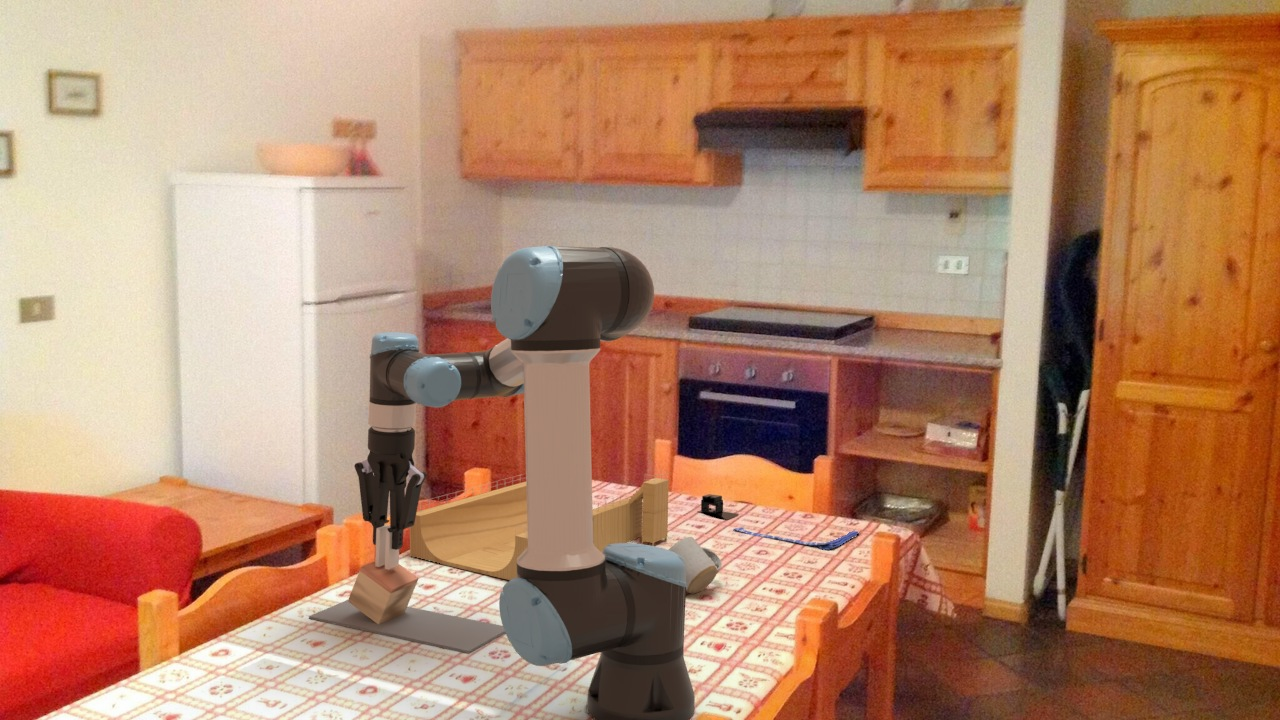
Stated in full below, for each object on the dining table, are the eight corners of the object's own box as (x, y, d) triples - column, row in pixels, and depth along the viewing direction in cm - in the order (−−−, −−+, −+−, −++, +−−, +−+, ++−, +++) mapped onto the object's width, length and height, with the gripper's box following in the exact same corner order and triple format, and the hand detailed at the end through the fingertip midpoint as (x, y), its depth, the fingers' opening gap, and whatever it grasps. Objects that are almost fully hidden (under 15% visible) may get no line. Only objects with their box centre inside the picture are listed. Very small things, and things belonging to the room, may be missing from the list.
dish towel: (830, 558, 235) (830, 544, 235) (730, 538, 249) (730, 525, 248) (863, 540, 249) (864, 528, 249) (767, 522, 263) (768, 510, 262)
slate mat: (469, 653, 176) (469, 650, 176) (309, 618, 190) (308, 616, 190) (510, 629, 187) (510, 627, 187) (356, 598, 201) (356, 596, 201)
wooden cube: (378, 624, 187) (392, 589, 185) (347, 601, 190) (361, 566, 188) (404, 612, 193) (418, 578, 191) (374, 590, 196) (388, 556, 194)
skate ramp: (533, 520, 259) (534, 450, 257) (667, 546, 240) (669, 471, 239) (409, 561, 226) (409, 481, 224) (553, 595, 207) (554, 508, 205)
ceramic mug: (687, 603, 208) (692, 579, 202) (658, 572, 212) (663, 548, 206) (730, 574, 213) (736, 551, 207) (702, 545, 217) (707, 520, 212)
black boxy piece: (681, 515, 264) (681, 495, 264) (698, 510, 270) (698, 490, 270) (726, 521, 257) (726, 500, 257) (743, 515, 263) (743, 495, 262)
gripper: (441, 429, 187) (435, 568, 190) (371, 417, 193) (367, 551, 196) (413, 437, 180) (408, 580, 183) (341, 424, 186) (337, 563, 189)
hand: (386, 565), depth 190 cm, fingers closed
